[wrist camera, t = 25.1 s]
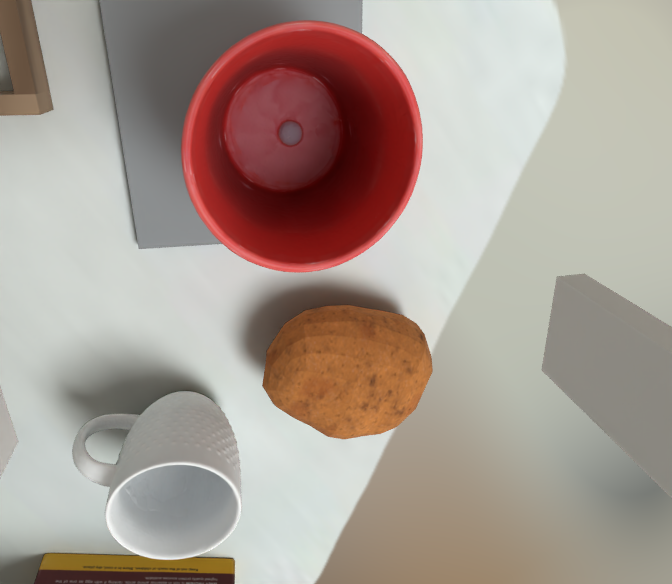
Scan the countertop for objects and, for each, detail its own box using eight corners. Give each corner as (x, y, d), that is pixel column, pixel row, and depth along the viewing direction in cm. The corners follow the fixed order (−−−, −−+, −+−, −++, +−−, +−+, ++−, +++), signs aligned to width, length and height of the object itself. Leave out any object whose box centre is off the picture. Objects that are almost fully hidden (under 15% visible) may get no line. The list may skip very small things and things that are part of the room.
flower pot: (406, 142, 34) (469, 169, 25) (273, 252, 35) (289, 316, 26) (299, -12, 30) (331, -44, 21) (151, 120, 31) (122, 143, 22)
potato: (379, 409, 44) (407, 475, 37) (243, 381, 40) (248, 448, 33) (425, 309, 41) (465, 361, 34) (283, 270, 37) (296, 319, 30)
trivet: (140, 244, 34) (138, 248, 34) (101, -7, 29) (98, -8, 28) (355, 231, 37) (358, 235, 36) (359, -3, 31) (362, -4, 30)
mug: (77, 440, 39) (38, 547, 31) (104, 350, 37) (70, 440, 29) (219, 467, 43) (219, 568, 35) (252, 386, 40) (261, 475, 32)
